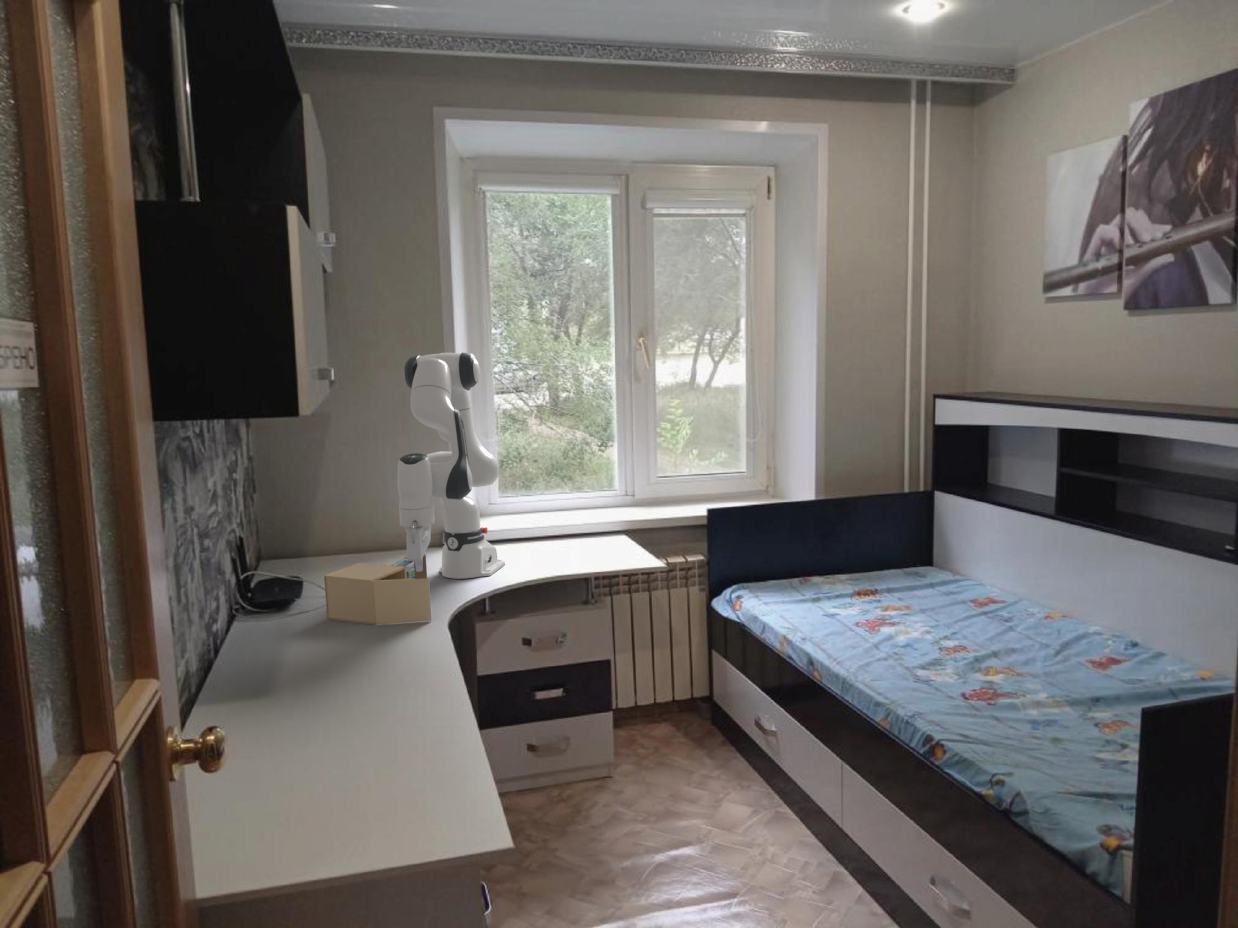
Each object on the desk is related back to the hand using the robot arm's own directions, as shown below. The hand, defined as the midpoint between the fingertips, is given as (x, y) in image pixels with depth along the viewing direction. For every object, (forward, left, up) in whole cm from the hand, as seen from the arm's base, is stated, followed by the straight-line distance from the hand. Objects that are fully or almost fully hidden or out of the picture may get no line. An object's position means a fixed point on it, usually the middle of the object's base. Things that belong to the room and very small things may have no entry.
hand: (420, 569), depth 221 cm
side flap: (+2, -4, -14) cm, 15 cm away
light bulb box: (-18, -18, -15) cm, 29 cm away
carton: (-1, -19, -14) cm, 23 cm away
